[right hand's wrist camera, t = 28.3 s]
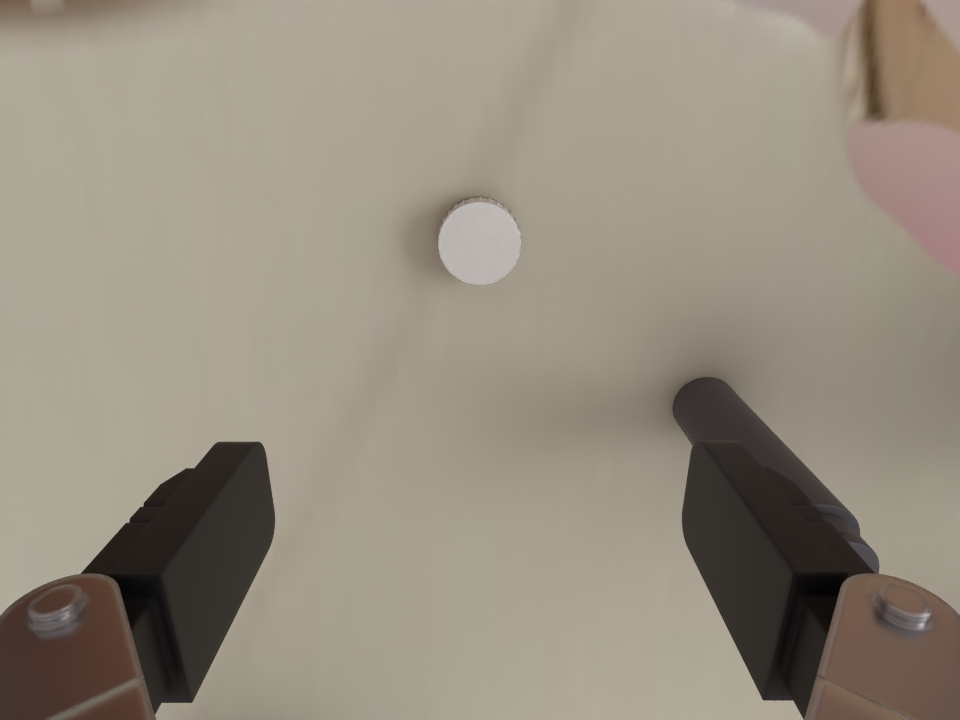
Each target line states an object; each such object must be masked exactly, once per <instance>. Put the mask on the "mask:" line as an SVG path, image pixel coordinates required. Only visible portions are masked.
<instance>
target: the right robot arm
mask: <svg viewBox="0 0 960 720" xmlns="http://www.w3.org/2000/svg"><path fill="white" fill-rule="evenodd" d="M274 527H275V512H274V505H273V498H272V492H271V485H270V478H269V472H268V465H267V458H266V453H265V449H264V447H263V445H262V444H261V443H260V442H217V443H216V444H215V445H214V446H213V447H212V448H211V449H210V450H209V452H208V453H207V454H206V455H205V456H204V458H203V459H202V460H201V461H200V462H199V464H198V465H197V466H196V467H195V468H194V469H185V470H183V471H181V472H180V473H178V474H177V475H175V476H173V477H172V478H170V479H169V480H167V481H165V482H164V483H162V484H161V485H160V486H159V487H158V488H157V489H156V490H155V491H154V492H153V494H152V495H151V496H150V497H149V498H148V499H147V500H146V501H145V502H144V507H140V508H139V509H138V510H137V511H136V513H135V514H134V515H133V516H132V517H131V518H130V522H129V523H126V524H125V525H124V526H123V527H122V528H121V529H120V530H119V532H118V533H117V534H116V535H115V536H114V537H113V538H112V539H111V540H110V542H109V543H108V544H107V545H106V546H105V547H104V548H103V549H102V551H101V552H100V553H99V554H98V555H97V556H96V557H95V558H94V559H93V561H92V562H91V563H90V564H89V565H88V566H87V567H86V568H85V570H84V571H83V572H82V573H81V574H78V575H72V576H68V577H64V578H61V579H58V580H54V581H52V582H49V583H47V584H44V585H42V586H40V587H38V588H36V589H34V590H32V591H31V592H29V593H27V594H26V595H24V596H22V597H21V598H20V599H18V600H17V601H15V602H14V603H13V604H12V605H11V606H9V607H8V608H7V609H6V610H5V611H4V612H3V613H2V615H1V616H0V720H156V718H155V714H156V712H157V710H158V708H159V707H160V705H161V703H192V702H193V700H194V698H195V696H196V694H197V692H198V690H199V688H200V686H201V684H202V682H203V680H204V678H205V676H206V674H207V672H208V670H209V668H210V666H211V664H212V662H213V660H214V658H215V656H216V654H217V652H218V650H219V648H220V646H221V644H222V642H223V640H224V638H225V636H226V634H227V632H228V630H229V628H230V626H231V624H232V622H233V620H234V618H235V616H236V614H237V612H238V610H239V608H240V606H241V604H242V602H243V600H244V598H245V596H246V594H247V592H248V590H249V588H250V586H251V584H252V582H253V580H254V578H255V576H256V574H257V572H258V570H259V568H260V566H261V564H262V562H263V560H264V558H265V556H266V554H267V552H268V550H269V548H270V546H271V543H272V539H273V534H274ZM682 527H683V534H684V538H685V542H686V545H687V547H688V549H689V551H690V553H691V555H692V557H693V559H694V561H695V563H696V565H697V567H698V569H699V571H700V573H701V575H702V577H703V579H704V581H705V583H706V586H707V588H708V590H709V592H710V594H711V596H712V598H713V600H714V602H715V604H716V606H717V608H718V610H719V612H720V614H721V616H722V618H723V620H724V622H725V624H726V626H727V628H728V630H729V632H730V634H731V636H732V638H733V640H734V642H735V644H736V646H737V648H738V650H739V652H740V654H741V656H742V658H743V660H744V662H745V664H746V666H747V668H748V670H749V672H750V675H751V677H752V679H753V681H754V683H755V685H756V687H757V689H758V691H759V693H760V695H761V697H762V699H763V700H793V701H794V702H795V704H796V706H797V708H798V710H799V712H800V713H801V715H802V717H803V719H804V720H960V616H959V615H958V613H957V612H956V611H955V610H954V609H953V608H952V607H951V606H949V605H948V604H947V603H946V602H945V601H943V600H942V599H940V598H939V597H938V596H936V595H934V594H933V593H931V592H929V591H928V590H926V589H924V588H922V587H920V586H918V585H916V584H913V583H911V582H908V581H906V580H902V579H899V578H896V577H892V576H888V575H882V574H875V572H874V571H873V570H872V569H871V568H870V567H869V566H868V565H867V563H866V562H865V561H864V560H863V559H862V558H861V557H860V556H859V554H858V553H857V552H856V551H855V550H854V549H853V548H852V546H851V545H850V544H849V543H848V542H847V541H846V540H845V539H844V537H843V536H842V535H841V534H840V533H839V532H838V531H837V530H836V528H835V527H834V526H833V525H832V524H831V523H830V522H826V517H825V516H824V515H823V514H822V513H821V512H820V510H819V509H818V508H817V507H816V506H812V501H811V500H810V499H809V498H808V497H807V496H806V495H805V493H804V492H803V491H802V490H801V489H800V488H799V487H798V486H797V484H796V483H794V482H793V481H791V480H789V479H788V478H786V477H785V476H783V475H781V474H780V473H778V472H777V471H775V470H773V469H772V468H770V467H761V466H760V465H759V463H758V462H757V461H756V460H755V459H754V457H753V456H752V455H751V454H750V453H749V451H748V450H747V449H746V448H745V447H744V445H743V444H742V443H741V442H739V441H696V442H695V443H694V445H693V447H692V450H691V456H690V462H689V469H688V476H687V483H686V490H685V496H684V503H683V510H682Z"/></svg>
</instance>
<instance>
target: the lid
mask: <svg viewBox="0 0 960 720" xmlns="http://www.w3.org/2000/svg"><path fill="white" fill-rule="evenodd" d="M442 222H443V224H441V226H440V228H439V230H440V232H439V234H438V237H437V239H438V245H437V247H438V249H439V256H440V258H441V260H442V263H443V264H444V266H445V267H446V269H447V270H448V271H449V272H450V273H451V274H452V275H453V276H454V277H456V278H457V279H459V280H461V281H463V282H465V283H468V284H473V285H486V284H491V283H494V282H496V281H498V280H500V279H502V278H503V277H505V276H506V275H507V274H508V273H509V272H510V271H511V270H512V269H513V267H514V266H515V264H516V262H517V260H518V258H519V254H520V249H521V241H522V238H521V236H520V233H519V232H521V231H520V228H519V226H517V221H516V218H513V215H512V213H511V211H508V210H507V209H506V207H505V205H502V204H500V203H498V201H497V200H496V201H494V200H491V199H490V198H489V197H488V198H481V196H480V198H473V197H471V199H468V200H463V201H462V202H461V203H459V204H455V207H454V208H453V209H452V210H449V212H448V215H447V216H445V217H444V219H443V221H442Z"/></svg>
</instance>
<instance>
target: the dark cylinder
mask: <svg viewBox="0 0 960 720" xmlns="http://www.w3.org/2000/svg"><path fill="white" fill-rule="evenodd" d="M673 413H674V417H675V419H676V421H677V423H678V424H679V426H680V427H681V429H682V430H683V432H684V433H685V435H686V436H687V438H688V439H689V441H690V442H691V444H692V445H694V443H695V442H696V441H739V442H741V443H742V444H743V445H744V447H745V448H746V449H747V450H748V451H749V453H750V454H751V455H752V456H753V457H754V459H755V460H756V461H757V462H758V463H759V465H760V466H761V467H770V468H772V469H773V470H775V471H777V472H778V473H780V474H781V475H783V476H785V477H786V478H788V479H789V480H791V481H793V482H794V483H796V484H797V486H798V487H799V488H800V489H801V490H802V491H803V492H804V493H805V495H806V496H807V497H808V498H809V499H810V500H811V501H812V506H816V507H817V508H818V509H819V510H820V512H821V513H822V514H823V515H824V516H825V517H826V522H830V523H831V524H832V525H833V526H834V527H835V528H836V530H837V531H838V532H839V533H840V534H841V535H842V536H843V537H844V539H845V540H846V541H847V542H848V543H849V544H850V545H851V546H852V548H853V549H854V550H855V551H856V552H857V553H858V554H859V556H860V557H861V558H862V559H863V560H864V561H865V562H866V563H867V565H868V566H869V567H870V568H871V569H872V570H873V571H874V572H875V574H878V573H879V561H878V557H877V555H876V553H875V552H874V551H873V550H872V549H871V547H870V546H869V545H868V544H867V543H866V542H865V541H864V540H863V539H862V538H861V537H860V528H859V525H858V522H857V520H856V518H855V517H854V516H853V515H852V514H851V513H850V511H849V510H848V509H847V508H846V507H845V506H844V505H843V504H842V503H841V502H840V501H839V500H838V499H837V498H836V497H835V496H834V495H833V494H832V493H831V492H830V491H829V490H828V489H827V488H826V487H825V485H824V484H823V483H822V482H821V481H820V480H819V479H818V478H817V477H816V476H815V475H814V474H813V473H812V472H811V471H810V470H809V469H808V468H807V467H806V466H805V465H804V464H803V463H802V462H801V461H800V459H799V458H798V457H797V456H796V455H795V454H794V453H793V452H792V451H791V450H790V449H789V448H788V447H787V446H786V445H785V444H784V443H783V442H782V441H781V440H780V439H779V438H778V437H777V436H776V435H775V433H774V432H773V431H772V430H771V429H770V428H769V427H768V426H767V425H766V424H765V423H764V422H763V421H762V420H761V419H760V418H759V417H758V416H757V415H756V414H755V413H754V412H753V411H752V410H751V409H750V407H749V406H748V405H747V404H746V403H745V402H744V401H743V400H742V399H741V398H740V397H739V396H738V395H737V394H736V393H735V392H734V391H733V390H732V389H731V388H730V387H729V386H728V385H727V384H726V383H725V382H723V381H721V380H719V379H715V378H701V379H697V380H694V381H692V382H690V383H688V384H687V385H686V386H684V387H683V388H682V389H681V390H680V392H679V393H678V394H677V396H676V398H675V401H674V405H673Z"/></svg>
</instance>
